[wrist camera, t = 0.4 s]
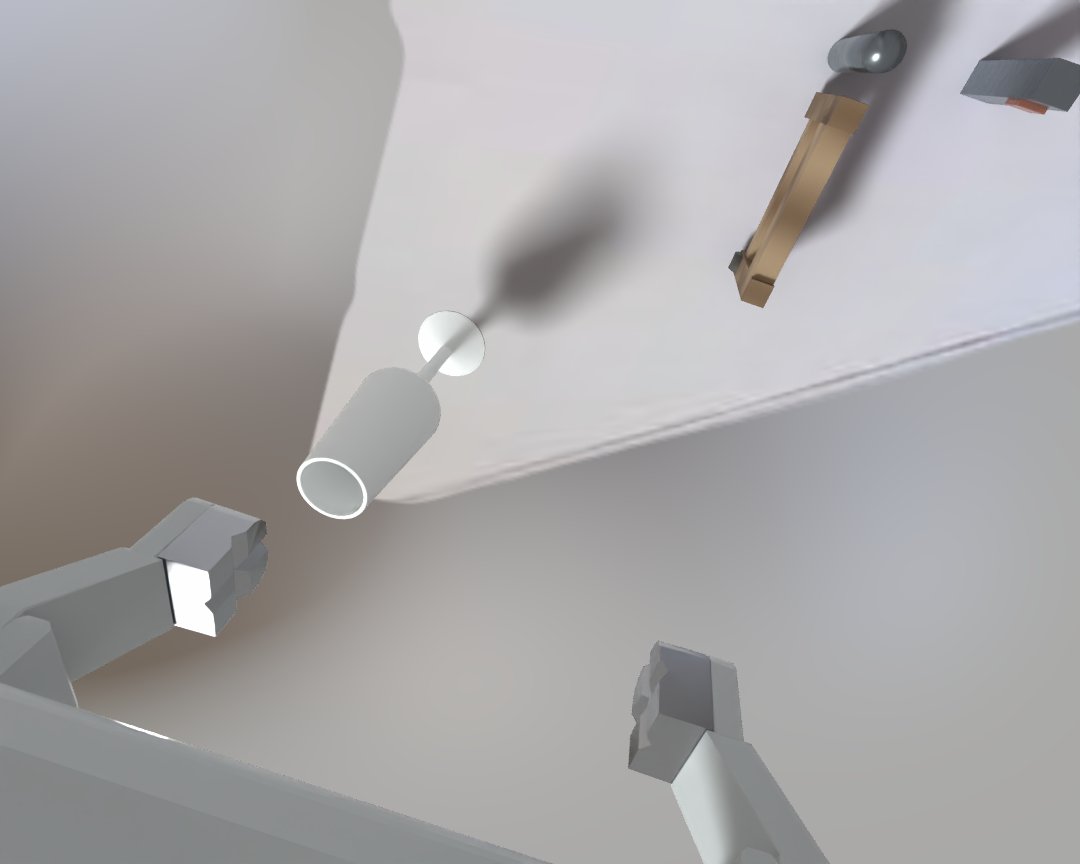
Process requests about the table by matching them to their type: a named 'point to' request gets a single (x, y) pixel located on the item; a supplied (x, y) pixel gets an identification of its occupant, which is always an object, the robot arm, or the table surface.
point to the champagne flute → (386, 421)
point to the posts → (990, 82)
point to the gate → (796, 194)
